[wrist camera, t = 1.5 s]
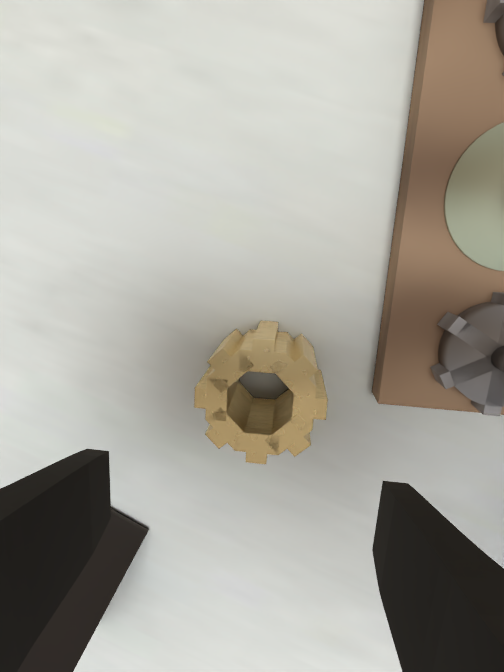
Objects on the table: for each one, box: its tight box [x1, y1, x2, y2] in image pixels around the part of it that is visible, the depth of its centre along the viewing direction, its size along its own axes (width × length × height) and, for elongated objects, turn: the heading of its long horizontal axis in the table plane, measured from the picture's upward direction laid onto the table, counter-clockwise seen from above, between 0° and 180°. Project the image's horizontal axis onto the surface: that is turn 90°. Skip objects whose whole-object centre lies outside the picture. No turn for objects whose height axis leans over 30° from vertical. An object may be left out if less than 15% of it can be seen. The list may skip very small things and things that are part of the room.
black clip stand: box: [17, 509, 148, 672], centre depth 18 cm, size 9×6×12 cm, turn 150°
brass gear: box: [194, 321, 328, 464], centre depth 18 cm, size 6×6×4 cm
